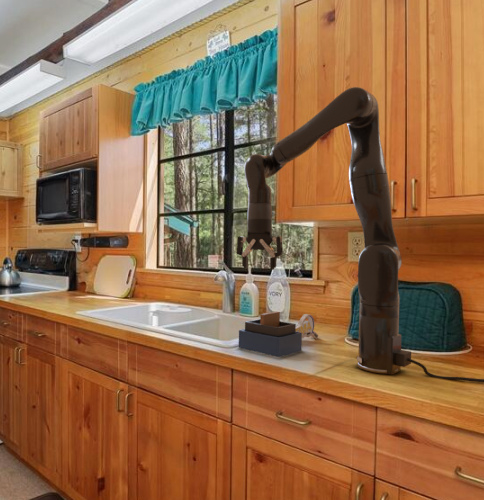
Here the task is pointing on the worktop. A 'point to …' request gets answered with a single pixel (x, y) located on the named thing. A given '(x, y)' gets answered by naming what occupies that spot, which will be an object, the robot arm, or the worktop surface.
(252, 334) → the box
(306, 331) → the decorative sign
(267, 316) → the upper tote
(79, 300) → the worktop surface
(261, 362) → the worktop surface
